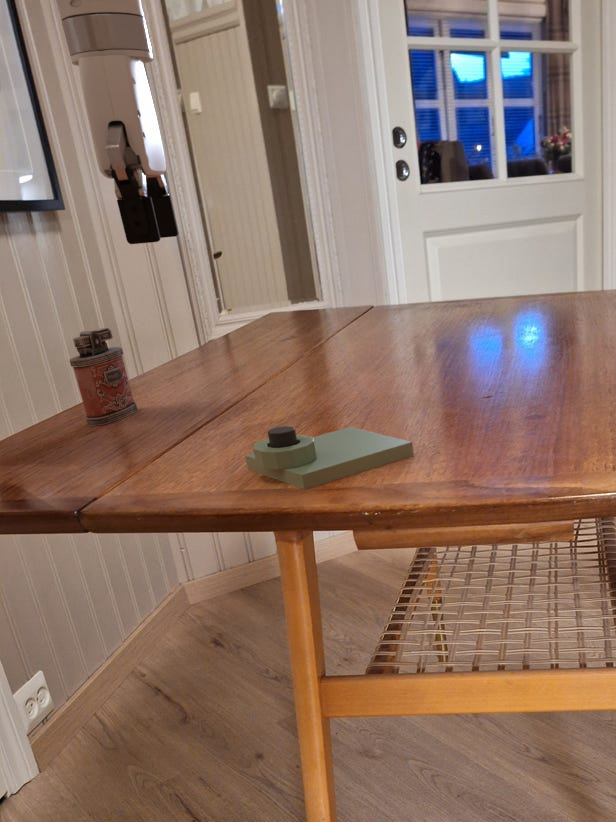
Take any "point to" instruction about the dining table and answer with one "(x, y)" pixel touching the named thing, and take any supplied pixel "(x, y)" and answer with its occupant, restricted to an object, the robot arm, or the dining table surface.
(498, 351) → the dining table surface
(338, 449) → the scale
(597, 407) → the dining table surface
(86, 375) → the lighter
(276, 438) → the button
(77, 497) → the dining table surface
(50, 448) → the dining table surface
